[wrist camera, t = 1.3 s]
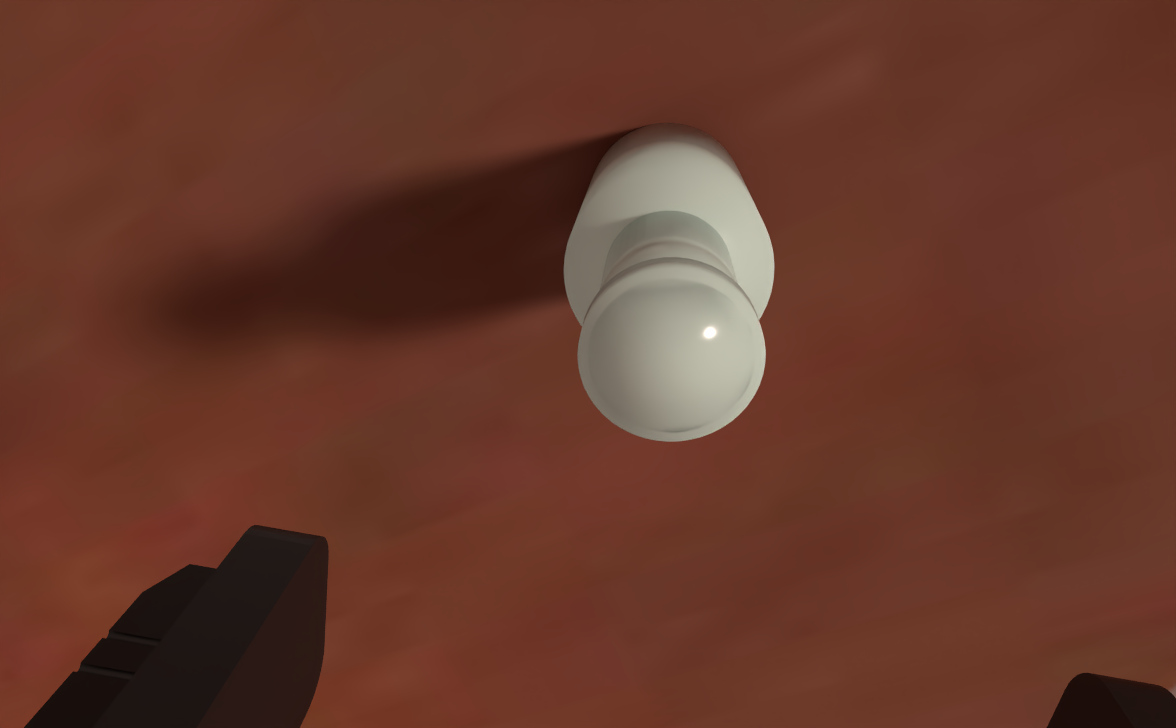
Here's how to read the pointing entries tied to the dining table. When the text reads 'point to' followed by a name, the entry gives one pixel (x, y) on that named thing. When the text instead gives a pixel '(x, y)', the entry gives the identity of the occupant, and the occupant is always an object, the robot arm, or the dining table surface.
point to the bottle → (669, 285)
